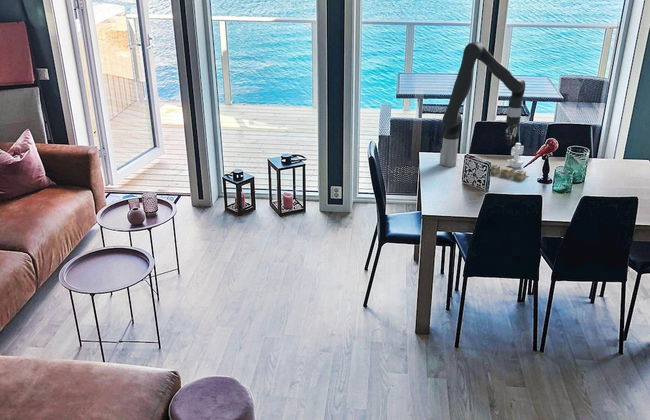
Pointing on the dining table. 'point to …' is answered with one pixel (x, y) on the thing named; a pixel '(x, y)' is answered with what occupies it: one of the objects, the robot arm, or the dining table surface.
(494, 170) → the marked block 1
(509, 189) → the dining table surface
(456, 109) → the robot arm
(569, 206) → the dining table surface
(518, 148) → the figurine
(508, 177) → the mat
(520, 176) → the marked block 2
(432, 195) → the dining table surface
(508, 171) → the plain block
